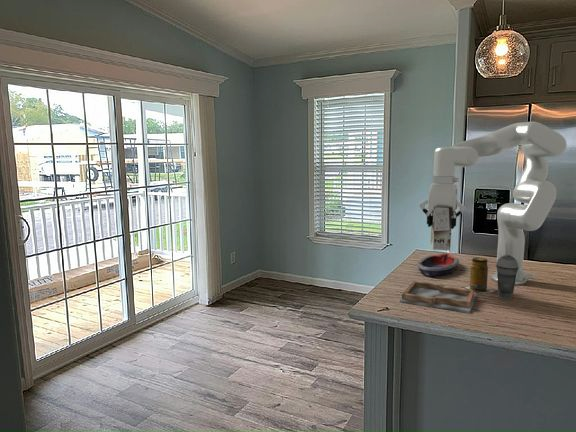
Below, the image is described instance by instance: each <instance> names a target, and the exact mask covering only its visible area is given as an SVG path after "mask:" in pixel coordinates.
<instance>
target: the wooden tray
mask: <svg viewBox="0 0 576 432" xmlns="http://www.w3.org/2000/svg"><path fill="white" fill-rule="evenodd" d="M476 298H477V293H475V291H473V290H469V289H466V288H457V287H451V286H450V287H449V286H445V284H441V283H433V282H425V281H418V280H413V281H412V282H411V283H410V284H409V285H408V287H406V288H405V290H404V291H403V292H402V293H401V298H400V299H399V302H400V303H404V304H411V305H417V306H422V307H428V308H433V309H440V310H447V311H453V312H460V313H466V314H470V313H471V310H472V308H473V305H474V303H475V301H476Z"/></svg>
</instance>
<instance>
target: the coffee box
mask: <svg viewBox="0 0 576 432" xmlns="http://www.w3.org/2000/svg"><path fill="white" fill-rule="evenodd" d="M452 210H453V208H452V207H435V206H434V210H433V211H432V213H431V215H432V226H430V227H431V228H430V229H431V230H430V247H431V248H432V250H437V251H451V239H452V229H451V226H452Z"/></svg>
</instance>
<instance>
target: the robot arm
mask: <svg viewBox="0 0 576 432" xmlns="http://www.w3.org/2000/svg"><path fill="white" fill-rule="evenodd" d="M517 146H521V151H522V153H523V156H524V157H523V158H524V160H525V166H524V169H523V171H522V173H521V175H520V177H519V179H518V181H517V182H516V184H515V186H514V189H513V191H512V197H513V200H515V201H516V202H519V203H515V202H508V203H504V204H502V205H501V206H499V208H498V209H497V213H496V219H497V228H498V230H497V231H498V236H497V237H498V238H497V252H496V254H497V255H496V262H497V261H498V259H499V258H500V257H502V256H504V255H505V243H507V255H510V256H513V257H514V258H515V259H516V260H517V262H518V267H519V268H518V271H517V274H516V280H515V286H516V285H517V286H518V285H524V284H526V283H527V280H528V279H529V280H536V274H532V273H530V272H528V273H527V272H525V271H524V256H525V255H524V253H525V243H526V238H525V237H526V236H525V232H524V231H528V232H533V231H536V230H538V229H539V228H541V226H542V225H543V224H544V222H545V220H546V219H547V217H548V215H549V213H550V211H551V209H552V207H553V206H554V203H555V201H556V199H557V188H556V186H555V184H553V183H552V182H550V181H548V180H546V179H547V177H548V174H549V165H548V162H547V159H546V158H547V157H548V158H555V157H559V156H562V154H563V153H565V151H566V150H567V140H566V138H565V137H564V136H563V135H562V134H560V133H559V132H557V131H556V130H553V129H552V128H550V127H548V126H547V125H545V124H543V123H540V122H537V121H523V122H516V123H515V122H514V123H512V124H509V125H507V126H504V127H502V128H499V129H497V130H494V131H492V132H489V133H487V134H483V135H479V136H477V137H474V138H470V139H467V140H464V141H461V142H458V143H456V144H454V145H451V146H448V147H446V146H442V147H436V148H435V149H434V153H433V154H434V155H433V174H432V175H433V176H432V183H431V184H430V187H429V191H428V197H427V198H428V199H426V200H425V201H424V202H422V203H420V204H419V208H420V209H421V210H422V212H423V213H424V214H425V216H426V225H427V227H428V228H429V227H431V226H432V211H433V210H434V206H435V207H452V208H453V210H452V226H451V230H453V229H455V227H456V226H457V218H458V217H460V215H461V214H463V212H464V211H466V209H467V206H465V205H463V204H462V203H461V202H460V201H458V187H457V184H455V183H456V182H457V183H458V182H459V180H460V178H458V177H456V168H457V167H458V168H470V167H473V166H474V165H476V164H477V163H478V161H479V158H480V157H490V156H491V157H492V156H496V155H500V154H501V153H504V152H506V151H509V150H511V149H513V148H515V147H517ZM521 203H523V204H521ZM526 204H527V205H526ZM425 206H427V208H426V207H425ZM458 208H460V209H459V210H458V211H457V212H456V210H457V209H458ZM496 267H497V266H496V265H495V268H496ZM495 270H496V271H495V273H493V274H492V275H491V280H493V281H495V282H497V283H498V278H497V268H496V269H495Z"/></svg>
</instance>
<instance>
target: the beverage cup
mask: <svg viewBox="0 0 576 432" xmlns="http://www.w3.org/2000/svg"><path fill="white" fill-rule="evenodd" d="M496 266H497V267H496ZM495 268H497V278H498V282H497V295H498V296H497V297H498V298H499V299H503V300H512V299H513V295H514V292H515V286H516V285H515V280H516V274H517V271H518V268H519V267H518V262H517V260H516V259H515V258H514V257H513V256H510V255H507V243H505V255H504V256H502V257H500V258H499V259H498V261H497V260H496V265H495Z"/></svg>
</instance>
